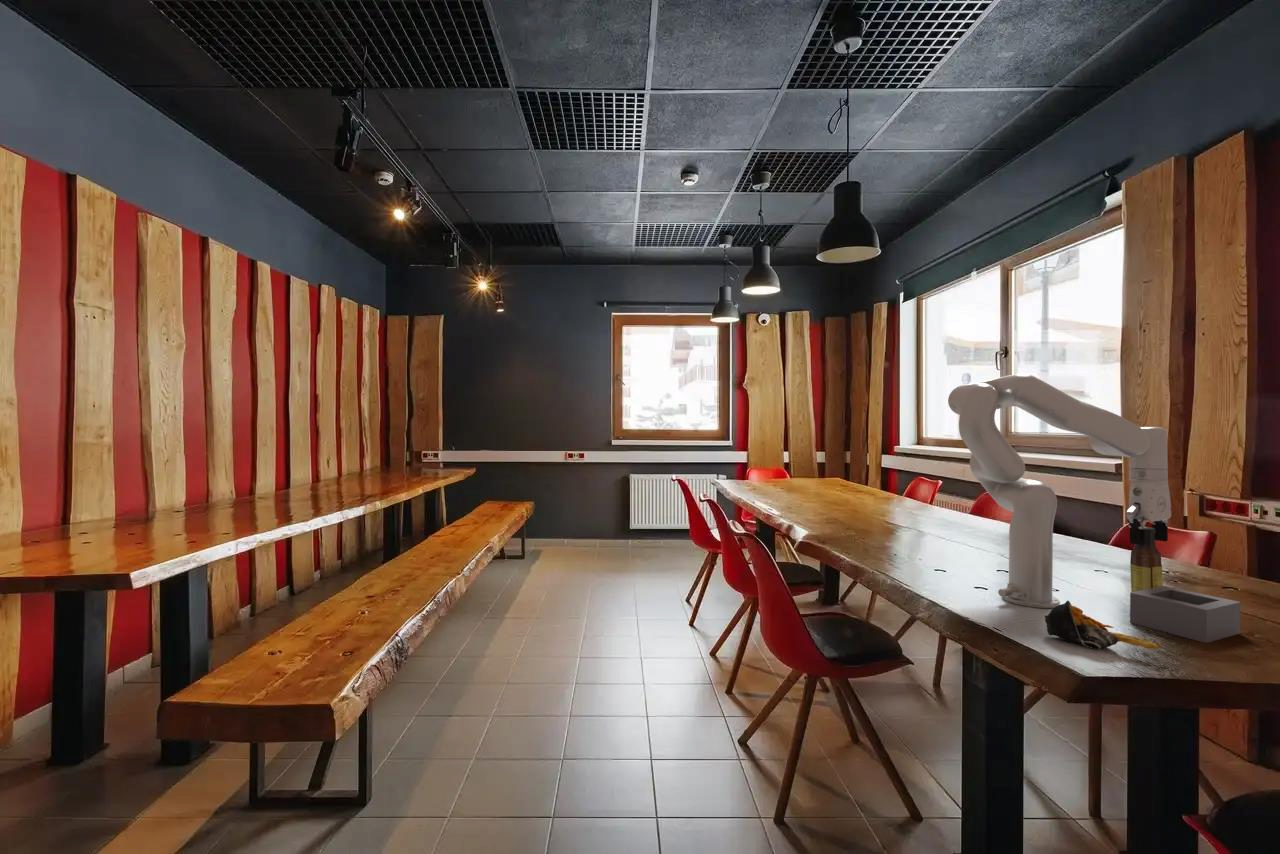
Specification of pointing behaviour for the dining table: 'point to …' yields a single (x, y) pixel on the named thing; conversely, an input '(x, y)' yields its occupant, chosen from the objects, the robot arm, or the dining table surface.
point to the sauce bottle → (1146, 564)
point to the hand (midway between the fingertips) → (1148, 542)
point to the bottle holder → (1185, 613)
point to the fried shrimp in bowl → (1087, 629)
